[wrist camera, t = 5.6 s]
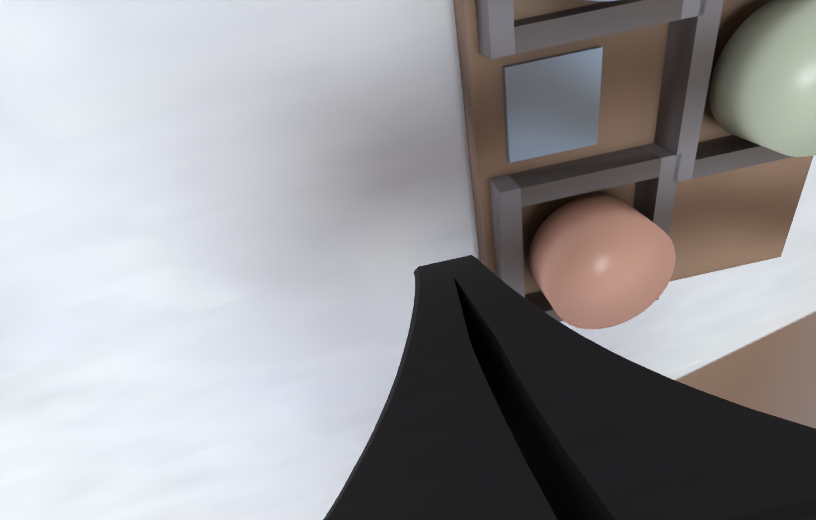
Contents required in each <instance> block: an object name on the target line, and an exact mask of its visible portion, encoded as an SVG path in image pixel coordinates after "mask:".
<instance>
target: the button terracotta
mask: <svg viewBox="0 0 816 520" xmlns="http://www.w3.org/2000/svg"><path fill="white" fill-rule="evenodd" d="M675 260H676V256H675V249H674V245H673V243H672V240H671V239H670V237H669V236H668V234H667V233H665V232H664V231H663V230H662V229H661V228H660V227H658V226H657V225H656V224H654V223H653V222H652V221H650V220H649V219H648V218H647V217H645V216H644V215H643V214H641V213H640V212H639V211H637V210H636V209H635V208H634V207H632V206H631V205H630V204H628V203H627V202H625V201H624V200H622V199H620V198H618V197H615V196H611V195H603V194H598V195H589V196H584V197H581V198H578V199H575V200H573V201H570V202H568V203H567V204H565V205H563V206H561V207H560V208H558V209H557V210H556V211H554V212H553V213H552V214H551V215H550V216H549V217H548V218H547V219H546V220H545V221H544V222H543V223H542V224H541V226H540V227H539V228H538V230H537V232H536V233H535V235H534V237H533V239H532V242H531V245H530V248H529V253H528V264H529V269H530V273H531V275H532V277H533V279H534V280H535V282H536V283H537V285H538V286H539V288H540V289H541V291H542V292H543V294H544V295H545V297H546V298H547V300H548V301H549V303H550V304H551V306H552V307H553V309H554V310H555V312H556V313H557V315H558V316H559V317H560V318H561V319H562V320H564V321H565V322H567V323H568V324H570V325H572V326H575V327H579V328H584V329H602V328H607V327H611V326H615V325H618V324H621V323H623V322H625V321H628V320H630V319H632V318H633V317H635V316H637V315H638V314H640V313H641V312H643V311H644V310H645V309H647V308H648V307H649V306H650V305H651V304H652V303H653V302H654V301H655V300H656V299H657V298H658V297H659V296H660V295H661V294H662V292H663V291H664V289H665V288H666V286H667V285H668V283H669V281H670V279H671V277H672V274H673V271H674V267H675Z"/></svg>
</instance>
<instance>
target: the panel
mask: <svg viewBox="0 0 816 520" xmlns="http://www.w3.org/2000/svg"><path fill="white" fill-rule="evenodd" d="M769 1H771V0H616V1H589V0H454V9H455V19H456V29H457V39H458V49H459V58H460V68H461V78H462V88H463V98H464V108H465V118H466V127H467V137H468V147H469V157H470V167H471V177H472V187H473V196H474V206H475V216H476V226H477V236H478V246H479V256H480V262H481V263H483V264H484V265H485V266H486V267H487V268H488V269H489V270H491V271H492V272H493V273H494V274H495V275H496V276H498V277H499V278H500V279H501V280H503V281H504V282H505V283H506V284H507V285H509V286H510V287H511V288H512V289H514V290H515V291H516V292H518V293H519V294H520V295H522V296H523V297H524V298H526V299H527V300H528V301H530V302H531V303H533V304H534V305H535V306H537V307H538V308H539V309H541V310H542V311H544V312H545V313H547V314H548V315H550V316H551V317H553V318H554V319H556V320H557V321H559V322H560V321H564V320H562V319H561V318H560V317H559V316H558V315H557V313H556V312H555V310H554V309H553V307H552V306H551V304H550V303H549V301H548V300H547V298H546V297H545V295H544V294H543V292H542V291H541V289H540V288H539V286H538V285H537V283H536V282H535V280H534V279H533V277H532V275H531V273H530V269H529V264H528V253H529V248H530V245H531V242H532V239H533V237H534V235H535V233H536V232H537V230H538V228H539V227H540V226H541V224H542V223H543V222H544V221H545V220H546V219H547V218H548V217H549V216H550V215H551V214H552V213H553V212H554V211H556V210H557V209H558V208H560V207H561V206H563V205H565V204H567V203H568V202H570V201H573V200H575V199H578V198H581V197H584V196H589V195H598V194H603V195H611V196H615V197H618V198H620V199H622V200H624V201H625V202H627V203H628V204H630V205H631V206H632V207H634V208H635V209H636V210H637V211H639V212H640V213H641V214H643V215H644V216H645V217H647V218H648V219H649V220H650V221H652V222H653V223H654V224H656V225H657V226H658V227H660V228H661V229H662V230H663V231H664V232H665V233H667V234H668V236H669V237H670V239H671V240H672V243H673V245H674V249H675V256H676V260H675V267H674V271H673V274H672V277H671V279H670V281H673V280H678V279H682V278H687V277H691V276H696V275H700V274H705V273H709V272H714V271H718V270H723V269H727V268H732V267H736V266H741V265H745V264H750V263H754V262H759V261H763V260H768V259H772V258H777V257H781V254H782V251H783V248H784V245H785V242H786V239H787V236H788V233H789V229H790V226H791V223H792V220H793V217H794V214H795V211H796V208H797V205H798V202H799V199H800V195H801V192H802V189H803V186H804V183H805V180H806V177H807V174H808V171H809V168H810V165H811V161H812V158H813V156H807V157H793V156H787V155H784V154H781V153H779V152H776V151H774V150H771V149H768V148H766V147H763V146H761V145H758V144H756V143H753V142H751V141H748V140H745V139H743V138H740V137H738V136H735V135H733V134H730V133H728V132H727V131H725V130H724V129H723V128H721V127H720V126H719V124H718V123H717V122H716V120H715V118H714V116H713V114H712V111H711V107H710V101H709V91H710V83H711V79H712V75H713V71H714V68H715V66H716V63H717V61H718V59H719V56H720V54H721V52H722V51H723V49H724V47H725V45H726V44H727V42H728V41H729V39H730V38H731V37H732V35H733V34H734V33H735V31H736V30H737V29H738V28H739V27H740V25H741V24H742V23H743V22H744V21H745V20H746V19H747V18H748V17H749V16H750V15H752V14H753V13H754V12H755V11H756V10H757V9H759V8H760V7H762V6H763V5H765V4H766V3H767V2H769ZM658 299H659V297H658V298H657V299H656V300H658Z"/></svg>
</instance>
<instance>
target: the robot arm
mask: <svg viewBox="0 0 816 520" xmlns="http://www.w3.org/2000/svg"><path fill="white" fill-rule="evenodd" d="M414 275H415V298H414V307H413V312H412V318H411V324H410V329H409V333H408V337H407V341H406V344H405V348H404V352H403V356H402V359H401V362H400V366H399V369H398V372H397V375H396V378H395V380H394V383H393V386H392V388H391V391H390V394H389V396H388V399H387V401H386V404H385V406H384V408H383V410H382V413H381V415H380V417H379V420H378V422H377V424H376V426H375V429H374V431H373V433H372V435H371V437H370V439H369V441H368V443H367V445H366V447H365V449H364V451H363V453H362V454H361V456H360V458H359V460H358V462H357V463H356V465H355V467H354V469H353V471H352V472H351V474H350V476H349V478H348V480H347V482H346V483H345V485H344V487H343V489H342V491H341V492H340V494H339V496H338V497H337V499H336V501H335V502H334V504H333V506H332V507H331V509H330V510H329V512H328V513H327V515H326V516H325V518H324V519H323V520H816V429H815V428H811V427H808V426H805V425H801V424H798V423H795V422H792V421H788V420H785V419H782V418H778V417H776V416H772V415H769V414H766V413H763V412H759V411H756V410H753V409H750V408H747V407H744V406H741V405H738V404H736V403H733V402H730V401H727V400H725V399H722V398H719V397H717V396H714V395H711V394H708V393H706V392H703V391H700V390H697V389H695V388H692V387H690V386H687V385H685V384H682V383H680V382H677V381H675V380H672V379H670V378H668V377H665V376H663V375H661V374H659V373H656V372H654V371H652V370H650V369H647V368H645V367H643V366H641V365H638V364H636V363H634V362H632V361H630V360H628V359H625V358H623V357H621V356H619V355H617V354H615V353H613V352H611V351H609V350H607V349H606V348H604V347H602V346H600V345H598V344H596V343H594V342H593V341H591V340H589V339H587V338H585V337H583V336H581V335H580V334H578V333H576V332H575V331H573V330H571V329H570V328H568V327H567V326H565V325H563V324H562V323H560V322H559V321H557V320H556V319H554V318H553V317H551V316H550V315H548V314H547V313H545V312H544V311H542V310H541V309H539V308H538V307H537V306H535V305H534V304H533V303H531V302H530V301H528V300H527V299H526V298H524V297H523V296H522V295H520V294H519V293H518V292H516V291H515V290H514V289H512V288H511V287H510V286H509V285H507V284H506V283H505V282H504V281H503V280H501V279H500V278H499V277H498V276H496V275H495V274H494V273H493V272H492V271H491V270H489V269H488V268H487V267H486V266H485V265H484V264H483V263H481V262H480V261H479V260H478V259H477V258H475V257H474V256H472V255H470V256H465V257H461V258H456V259H452V260H447V261H442V262H438V263H433V264H429V265H424V266H420V267H418V268H417V269H416V270H415V271H414Z"/></svg>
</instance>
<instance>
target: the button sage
mask: <svg viewBox="0 0 816 520" xmlns="http://www.w3.org/2000/svg"><path fill="white" fill-rule="evenodd" d="M709 101H710V107H711V111H712V114H713V116H714V118H715V120H716V122H717V123H718V124H719V126H720V127H721V128H723V129H724V130H725V131H727V132H728V133H730V134H733V135H735V136H738V137H740V138H743V139H745V140H748V141H751V142H753V143H756V144H758V145H761V146H763V147H766V148H768V149H771V150H774V151H776V152H779V153H781V154H784V155H787V156H793V157H807V156H813V155H816V0H771V1H769V2H767V3H766V4H765V5H763V6H762V7H760V8H759V9H757V10H756V11H755V12H754V13H753V14H752V15H750V16H749V17H748V18H747V19H746V20H745V21H744V22H743V23H742V24H741V25H740V27H739V28H738V29H737V30H736V31H735V33H734V34H733V35H732V37H731V38H730V39H729V41H728V42H727V44H726V45H725V47H724V49H723V51H722V52H721V54H720V56H719V59H718V61H717V63H716V66H715V68H714V71H713V75H712V79H711V83H710V91H709Z"/></svg>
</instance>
